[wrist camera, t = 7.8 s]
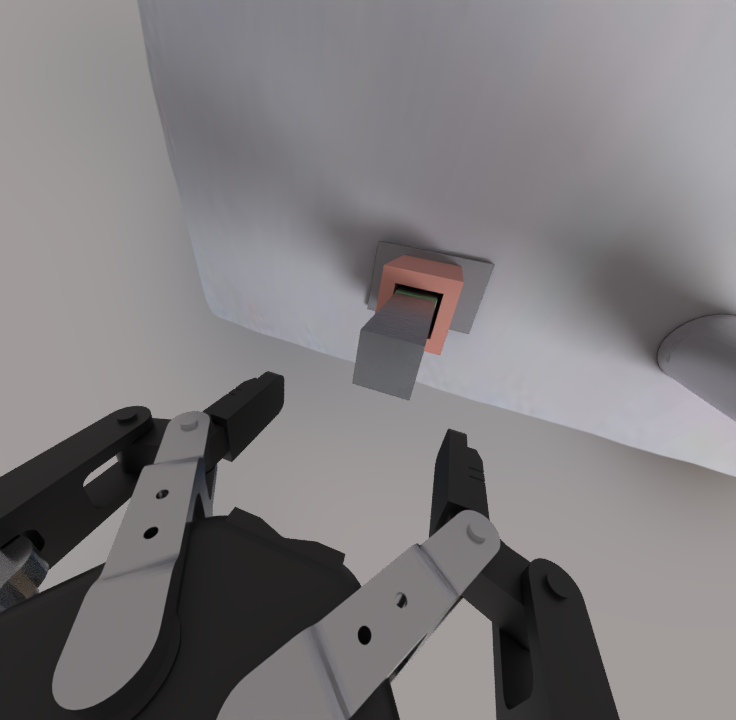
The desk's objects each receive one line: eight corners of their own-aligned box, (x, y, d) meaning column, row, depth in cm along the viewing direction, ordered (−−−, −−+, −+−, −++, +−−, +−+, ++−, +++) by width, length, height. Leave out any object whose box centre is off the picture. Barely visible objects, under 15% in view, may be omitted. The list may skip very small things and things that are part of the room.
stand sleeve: (492, 263, 36) (514, 282, 23) (468, 330, 41) (474, 377, 28) (380, 241, 39) (344, 247, 26) (369, 306, 44) (334, 338, 31)
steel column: (440, 287, 32) (426, 345, 16) (431, 319, 33) (409, 401, 18) (406, 279, 32) (359, 328, 16) (399, 311, 34) (351, 383, 18)
